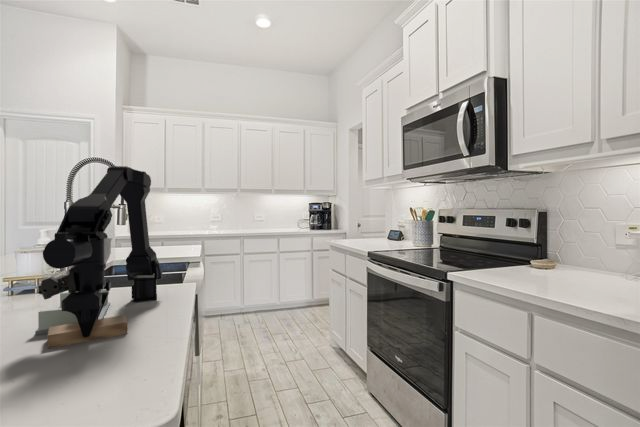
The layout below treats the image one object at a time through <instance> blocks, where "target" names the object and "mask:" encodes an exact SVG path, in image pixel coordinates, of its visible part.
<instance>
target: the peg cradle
mask: <svg viewBox="0 0 640 427" xmlns="http://www.w3.org/2000/svg"><path fill="white" fill-rule="evenodd" d="M103 292H108V291H106V289H103V290H102V293H103ZM69 294H70V293H68V291H64V292H62V293H59V308H51V309H42V310H39V311H37V313H38V327H37V329H36V330H35V331H34V332H35V335H36V336H38V335H44V334H45V335H46V334H48V331H49V327H53V326H59V325H66V324H72V323H78V320H77V318H76V316H75V315H74V314H72V313H71V312H67V311H62V305H61V301H62V300H63V299H65V298H66V297H67V296H68V295H69ZM109 306H110V307H111V302H109V295H108V296H107V299H106V301H105V303H104V306H103V308H102V310H101V313H100V315H99V318H98V319H103V318H105V317H106V315H107V313H106V312H108V311H107V310H109V309H110V307H109ZM108 308H109V309H108ZM105 314H106V315H105ZM104 316H105V317H104ZM35 335H34V336H35Z"/></svg>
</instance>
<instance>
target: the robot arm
mask: <svg viewBox="0 0 640 427" xmlns="http://www.w3.org/2000/svg"><path fill="white" fill-rule="evenodd" d="M106 170H107V171H106V174H105V175H104V176H103V177H102V179H101V180H100V181H99V182H98V184H97V185H96V186H95V187H94V189H93V190H92V191H91V193H90V194H89V195H86V196H85V197H82V198H79V199H77V200H76V201H74V202H73V203H71V205H69V207H68V209H66V212H65V214H64V216H63V218H62V220H61V222H60V225H59V227H58V229H57V232H55V233H54V239H52V240H51V241H49V242H48V243H47V244H46V245H45V246H44V249H43V251H42V258H43V261H44V262H45V264H46V265H47V266H49V267H51V268H53V269H56V270H58V269H60V270H61V269H65V268H69V267H70V268H69V269H68V273H67V274H63V275H61V276H58V277H54V276H50V277H48V278H44V279H42V280H41V284H39V285H38V286H37V288H38V291H37V293H38V294H39V295H42V298H43V300H49V299H51V298H52V297H54V296H57V295H58V294H59V295H60V293H62V292H68V293H70V294H69V295H68V296H67V297H66V298H65V299H63V300H62V301H61V305H62V311H67V312H71V313H72V314H74V315H75V316H76V318H77V320H78V323H79V326H80V329H81V332H82V335H83V337H89V336H90V333H91V331H92V329H93V326H94V324H95V321H96V320H97V319H98V318H99V315H100V313H101V310H102V308H103V306H104V303H105V301H106V299H107V296H108V297H109V294H110V290H111V289H112V288H111V286H112V285H111V284H112V282H111V280H110V279H109V278H108V277H105V269H106V268H107V263H104V239H106V238H109V237H108V234H106V233H105V231H106V229H107V227H109V225H110V223H111V221H112V217H113V213H112V210H111V208H112V206H113V204H114V202H116V200H117V198H119V196H120V197H121V198H122V199H123V200H124V201H125V203H126V210H127V218H128V219H127V220H128V228H129V235H130V243H131V244H130V245H131V251H130V253H128V256H127V257H126V259H125V271H126V275H127V280H128V282H129V281H133V283H132V284H131V299H132V302H133V303H134V302H135V303H136V302H143V301H144V302H145V301H154V300H157V299H158V293H157V292H158V289H157V285H158V284H157V281H158V280H161V279H163V268H162V266H161V264H160V262H159V260H158V257H157V253H156V251H155V250H154V249H153V248H152V247H151V245H150V239H149V238H150V237H149V229H148V227H149V226H148V219H147V211H146V210H147V208H146V199H147V197H148V196H149V194H150V192H151V186H152V178H151V175H149V173H147V172H146V171H141V170H138V169H134V168H131V167H129V166H127V165H126V166H124V165H122V166H120V165H117V166H116V165H113V166H109V167H108V168H107V169H106ZM103 289H106V291H109V292H103V293H102V290H103Z"/></svg>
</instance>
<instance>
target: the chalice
mask: <svg viewBox="0 0 640 427" xmlns="http://www.w3.org/2000/svg"><path fill="white" fill-rule="evenodd" d="M112 240H113V238H112V237H111V238H110V237H108V238H106V239H104V263H106V264H107V262H108V261H109V259H110V256H111V254H112V251H111V250H112ZM108 292H109V293H110V291H108Z"/></svg>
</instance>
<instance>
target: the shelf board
mask: <svg viewBox="0 0 640 427" xmlns="http://www.w3.org/2000/svg"><path fill="white" fill-rule="evenodd" d="M122 334H123V335H127V334H128V321H127V318H126V316H125V314H124V315H122V314H121V315H116V316H110V317H104V318H103V319H97V320H96V321H95V324H94V326H93V329H92V331H91V333H90V336H89V337H83V335H82V332H81V329H80V326H79V323H72V324H66V325H59V326H53V327H49V331H48V333H47V349H53V348H60V347H63V346H69V345H75V344H80V343H85V342H90V341H91V342H92V341H96V340H100V339H107V338H111V336H112V337H118V336H122ZM117 335H118V336H117Z"/></svg>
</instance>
